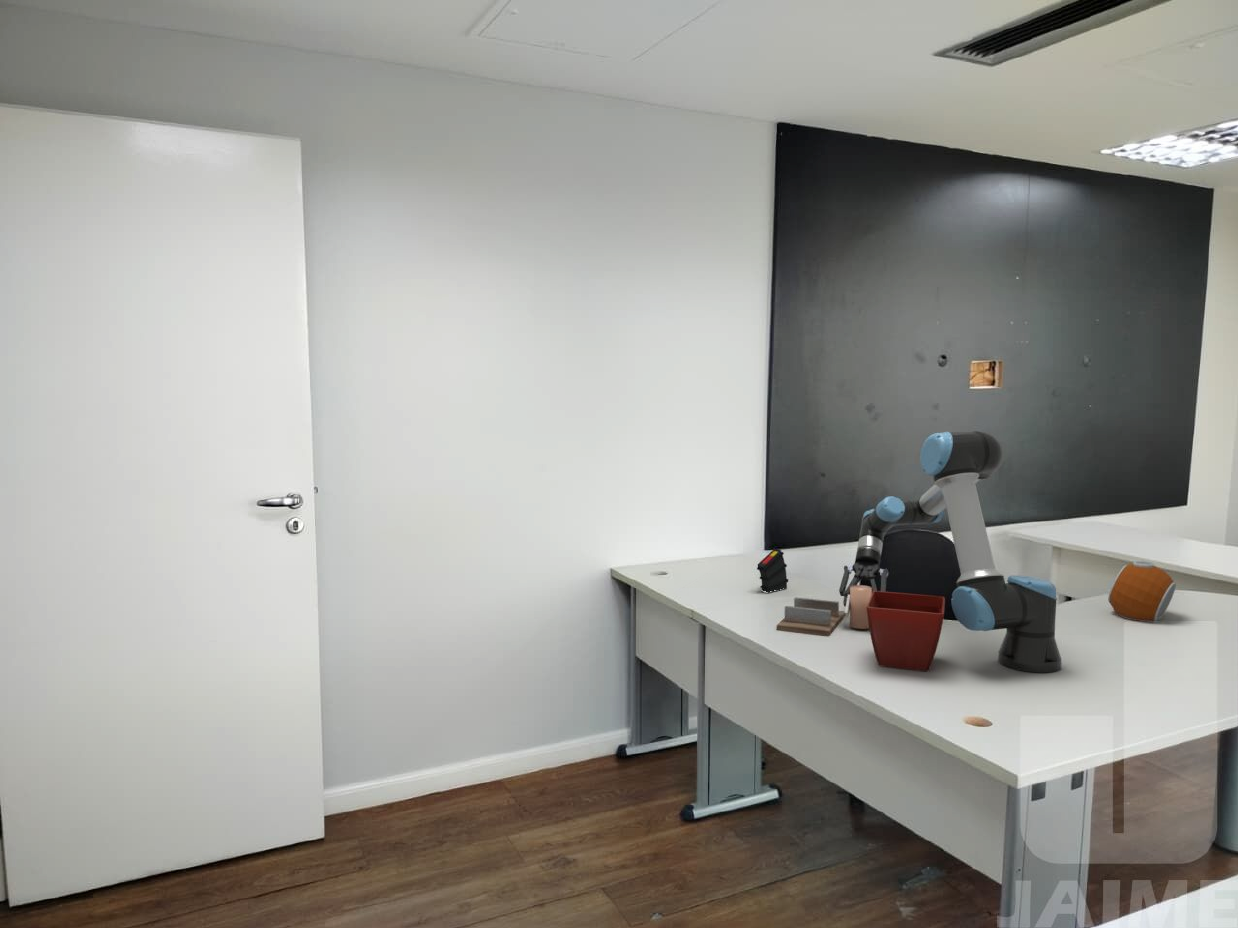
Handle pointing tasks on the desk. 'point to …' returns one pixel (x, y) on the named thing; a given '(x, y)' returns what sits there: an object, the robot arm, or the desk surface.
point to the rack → (811, 617)
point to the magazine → (773, 571)
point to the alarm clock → (1141, 592)
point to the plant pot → (905, 628)
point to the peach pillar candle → (859, 606)
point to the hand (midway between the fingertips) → (858, 616)
